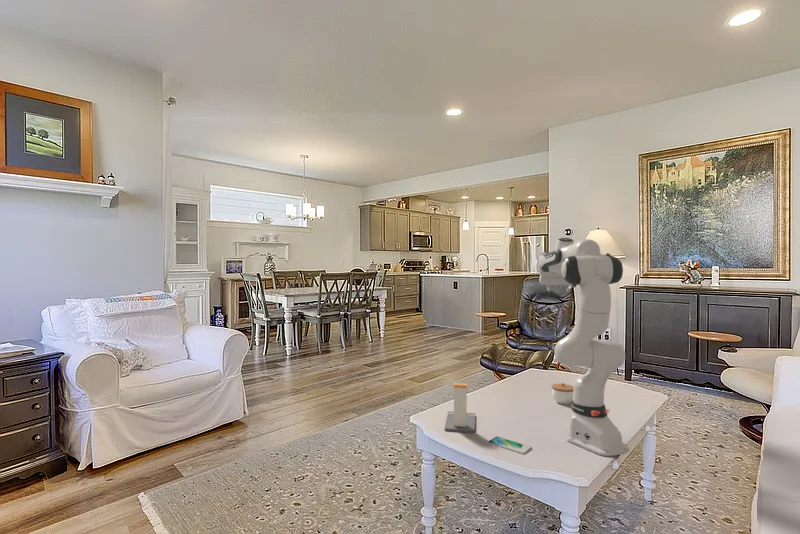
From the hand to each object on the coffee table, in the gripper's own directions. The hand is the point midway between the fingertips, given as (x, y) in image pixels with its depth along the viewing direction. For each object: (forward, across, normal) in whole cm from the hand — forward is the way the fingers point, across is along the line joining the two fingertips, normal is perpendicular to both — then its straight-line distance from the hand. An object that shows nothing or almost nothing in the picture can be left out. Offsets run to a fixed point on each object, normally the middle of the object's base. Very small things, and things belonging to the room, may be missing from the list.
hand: (558, 290), depth 223 cm
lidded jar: (+42, 0, -36) cm, 56 cm away
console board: (+25, -49, -68) cm, 88 cm away
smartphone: (+16, -31, -86) cm, 92 cm away
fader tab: (+21, -50, -73) cm, 90 cm away
